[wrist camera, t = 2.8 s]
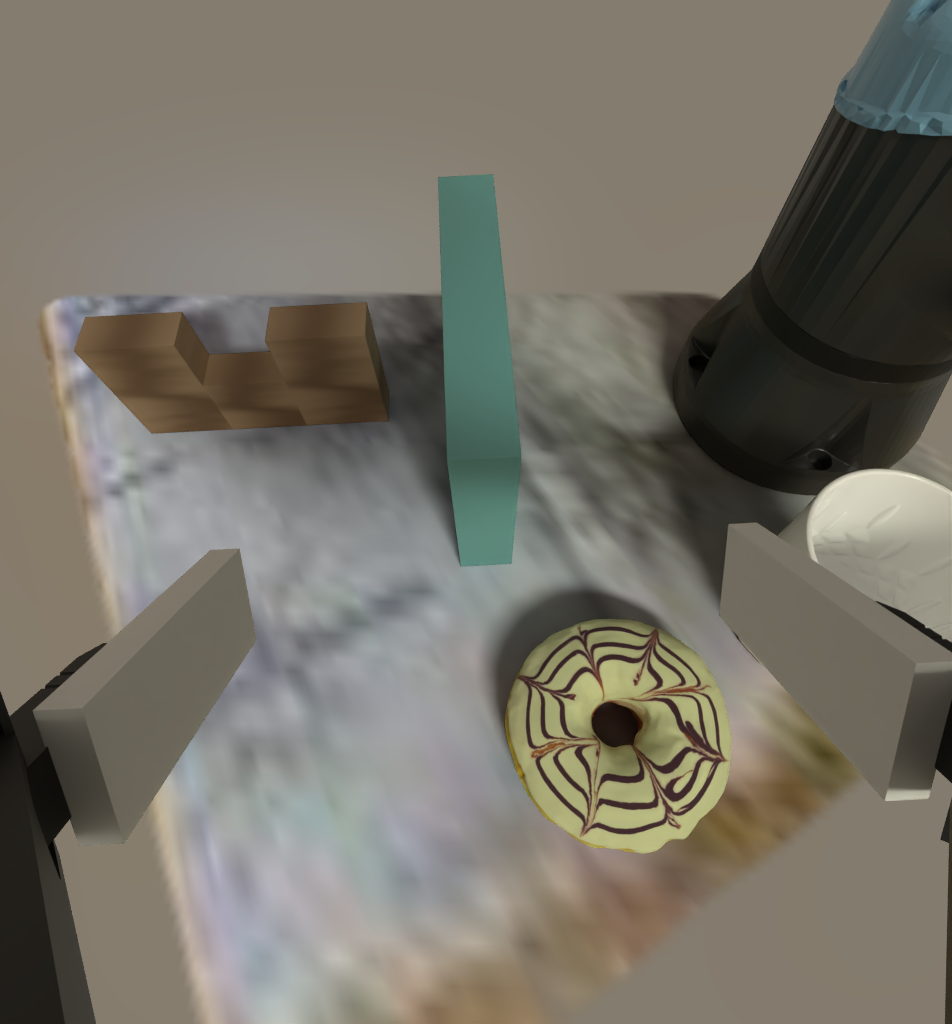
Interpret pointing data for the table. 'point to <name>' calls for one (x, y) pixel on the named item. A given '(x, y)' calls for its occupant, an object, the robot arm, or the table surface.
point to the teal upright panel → (477, 373)
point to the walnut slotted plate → (241, 370)
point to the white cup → (884, 541)
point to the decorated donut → (629, 768)
